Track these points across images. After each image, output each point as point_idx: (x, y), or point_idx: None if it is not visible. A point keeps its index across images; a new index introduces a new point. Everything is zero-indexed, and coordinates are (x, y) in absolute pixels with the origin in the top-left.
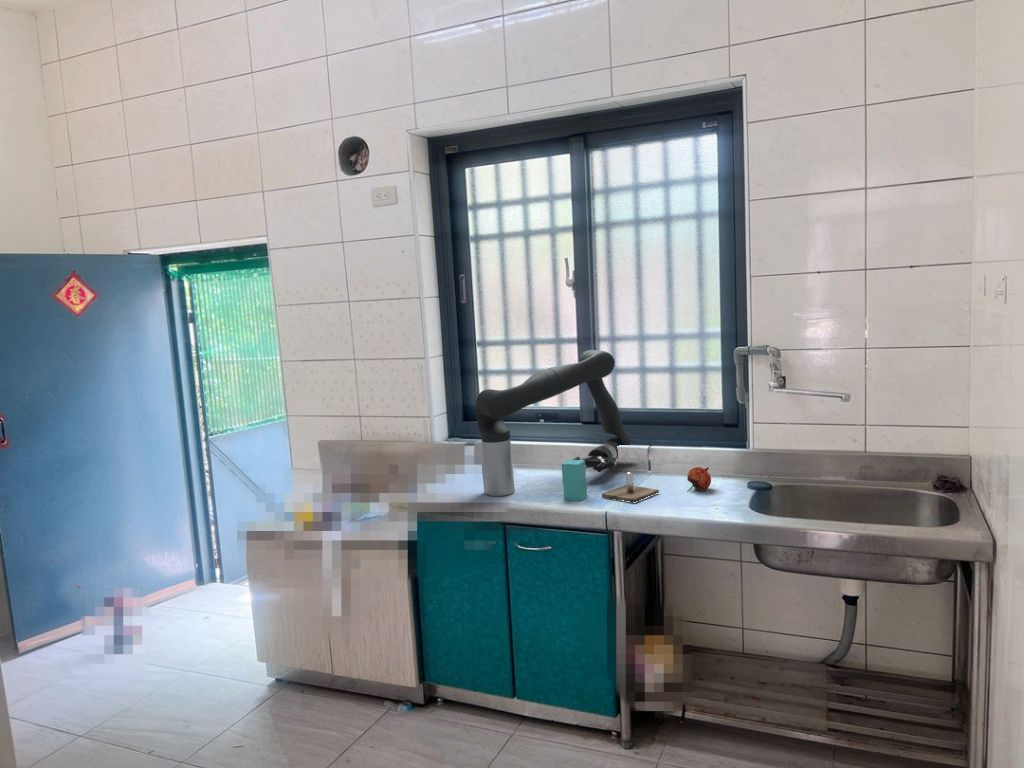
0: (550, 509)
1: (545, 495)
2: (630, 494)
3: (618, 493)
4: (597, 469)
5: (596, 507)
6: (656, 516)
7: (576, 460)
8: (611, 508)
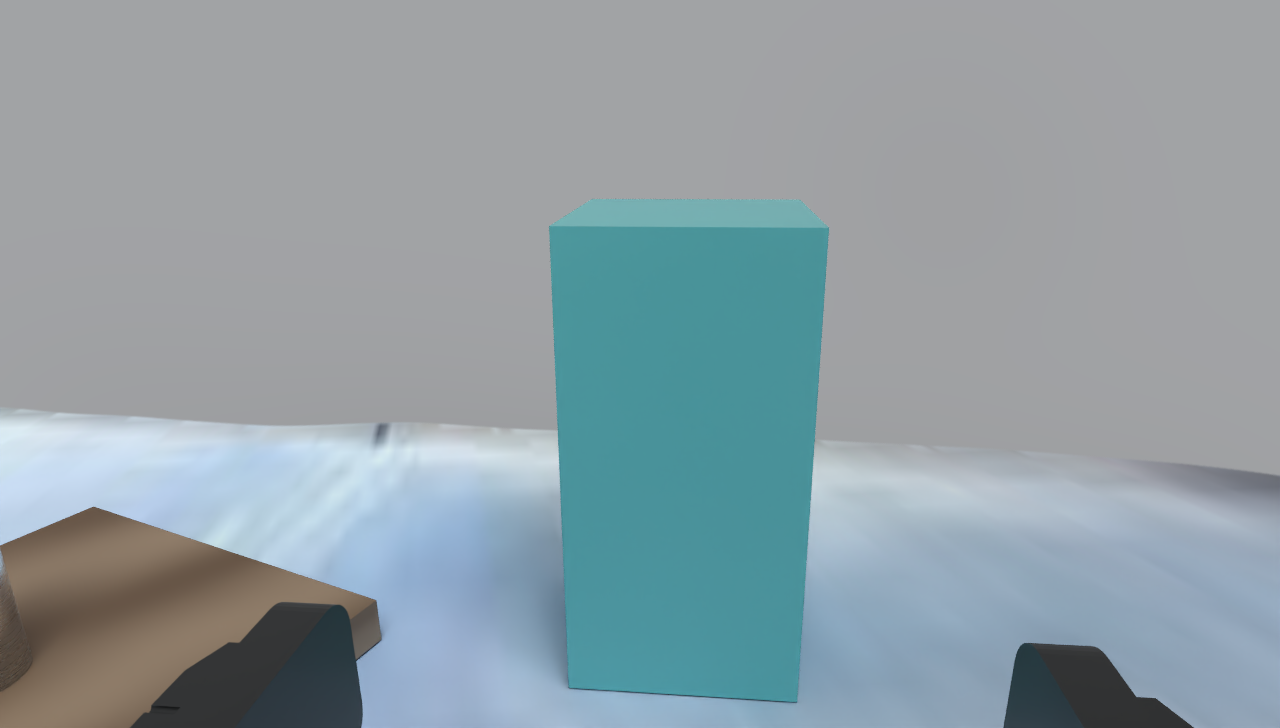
0: None
1: None
2: (42, 600)
3: (170, 619)
4: (354, 673)
5: (444, 476)
6: (86, 417)
7: (675, 222)
8: (332, 471)
